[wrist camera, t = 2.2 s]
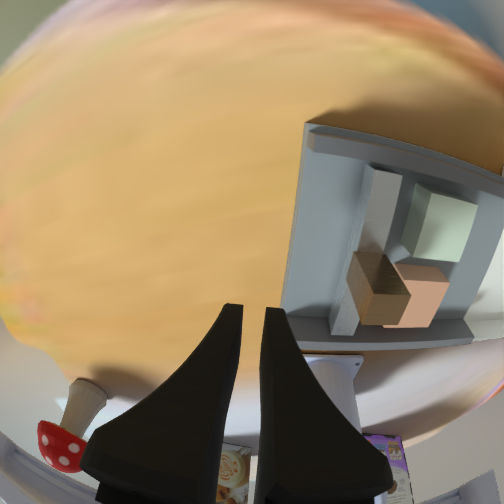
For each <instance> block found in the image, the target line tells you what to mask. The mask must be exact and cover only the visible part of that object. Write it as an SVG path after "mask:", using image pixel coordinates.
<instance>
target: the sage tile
mask: <svg viewBox="0 0 504 504" xmlns="http://www.w3.org/2000/svg"><path fill="white" fill-rule="evenodd" d="M477 208H478V205H477V204H476V203H474V202H473V201H471V200H470V199H468V198H466V197H465V196H463V195H462V194H458V193H455V192H451V191H447V190H444V189H440V188H436V187H432V186H428V185H424V184H420V183H416V184H415V189H414V193H413V197H412V201H411V205H410V209H409V213H408V217H407V220H406V224H405V228H404V231H403V234H402V238H401V241H400V242H401V243H402V244H403V246H404V247H405V248H406V249H407V251H408V252H409V253H410V255H411V256H412V257H416V258H425V259H434V260H443V261H452V262H459V261H460V258H461V256H462V253H463V250H464V248H465V245H466V242H467V239H468V237H469V234H470V231H471V228H472V225H473V222H474V218H475V215H476V212H477Z"/></svg>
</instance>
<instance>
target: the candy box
mask: <svg viewBox="0 0 504 504" xmlns="http://www.w3.org/2000/svg"><path fill="white" fill-rule="evenodd" d="M362 435H363V436H364V437H365V438H366V439H367V440H368V441H369V442H370V443H371V444H372V445H374V446H375V447H376V448H377V449H378V450H379V451H381V452H382V453H383V454H384V455H385V456H387V458H388V461H389V464H390V467H391V470H392V473H393V480H394V485H393V486H392V488H391V489H390V490H388V502H387V504H414V500H413V494H412V488H411V483H410V478H409V473H408V467H407V463H406V458H405V453H404V449H403V444H402V440H401V437H400V436H383V435H372V434H362Z"/></svg>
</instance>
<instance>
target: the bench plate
mask: <svg viewBox="0 0 504 504" xmlns="http://www.w3.org/2000/svg"><path fill="white" fill-rule="evenodd" d="M365 163H366V164H372V165H377V166H382V167H387V168H391V169H393V170H394V171H396V172H398V173H399V174H401V175H403V176H402V181H401V186H400V190H399V195H398V199H397V203H396V207H395V211H394V215H393V219H392V223H391V227H390V230H389V234H388V238H387V241H386V244H385V248H384V251H383V254H386V255H387V257H388V259H389V260H390V262H391V263H392V265H393V263H399V264H409V265H420V266H430V267H438V268H439V269H440V271H441V272H442V273H443V274H444V276H445V277H446V278H447V279H448V281H449V282H450V284H449V286H448V289H447V291H446V293H445V295H444V297H443V299H442V301H441V303H440V305H439V307H438V309H437V311H436V313H435V315H434V317H433V319H432V321H431V323H430V324H429V326H428V327H412V328H384V327H383V325H362V324H361V321H360V320H359V322H358V325H357V327H356V330H355V332H354V335H353V336H348V335H331V333H330V328H329V323H328V316H329V313H330V310H331V306H332V303H333V300H334V296H335V293H336V289H337V286H338V282H339V279H340V275H341V271H342V267H343V264H344V260H345V256H346V252H347V248H348V244H349V240H350V235H351V231H352V227H353V222H354V218H355V213H356V208H357V204H358V199H359V194H360V188H361V183H362V178H363V172H364V166H365ZM416 183H420V184H424V185H428V186H432V187H436V188H440V189H444V190H447V191H451V192H455V193H458V194H462V195H463V196H465V197H466V198H468V199H470V200H471V201H473V202H474V203H476V204H477V205H478V208H477V212H476V215H475V218H474V222H473V225H472V228H471V231H470V234H469V237H468V239H467V242H466V245H465V248H464V250H463V253H462V256H461V258H460V261H459V262H452V261H443V260H434V259H425V258H416V257H412V256H411V255H410V253H409V252H408V251H407V249H406V248H405V247H404V246H403V244H402V243H401V242H400V241H401V238H402V234H403V231H404V228H405V224H406V220H407V217H408V213H409V209H410V205H411V201H412V197H413V193H414V189H415V184H416ZM503 229H504V177H502V176H500V175H498V174H496V173H493V172H491V171H489V170H486V169H484V168H481V167H479V166H476V165H474V164H471V163H469V162H466V161H463V160H461V159H458V158H455V157H452V156H449V155H446V154H443V153H440V152H437V151H434V150H431V149H427V148H424V147H421V146H417V145H414V144H410V143H406V142H403V141H399V140H395V139H391V138H387V137H383V136H378V135H374V134H369V133H365V132H360V131H355V130H350V129H344V128H339V127H333V126H327V125H320V124H314V123H306V122H305V125H304V134H303V143H302V152H301V161H300V170H299V178H298V186H297V194H296V202H295V209H294V217H293V224H292V231H291V238H290V245H289V252H288V258H287V265H286V271H285V278H284V284H283V290H282V296H281V303H280V308H283V309H284V310H285V312H286V316H287V319H288V322H289V325H290V327H291V330H292V332H293V335H294V337H295V339H296V342H297V344H298V346H299V348H300V349H308V350H345V351H367V350H403V349H421V348H434V347H446V346H456V345H465V344H471V342H472V341H473V339H474V338H475V337H474V335H473V333H472V332H471V330H470V328H469V327H468V325H467V324H466V322H465V321H464V319H463V318H464V316H465V315H466V313H467V311H468V309H469V307H470V305H471V304H472V302H473V300H474V298H475V296H476V294H477V292H478V290H479V288H480V286H481V283H482V281H483V279H484V277H485V275H486V273H487V270H488V268H489V266H490V263H491V261H492V258H493V256H494V253H495V251H496V248H497V246H498V243H499V240H500V238H501V235H502V232H503Z"/></svg>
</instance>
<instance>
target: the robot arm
mask: <svg viewBox="0 0 504 504" xmlns="http://www.w3.org/2000/svg"><path fill="white" fill-rule="evenodd" d="M242 320H243V305H239V304H230V303H227V304H225V305H224V306H223V308H222V310H221V312H220V314H219V316H218V318H217V319H216V321H215V322H214V324H213V326H212V327H211V329H210V330H209V331H208V333H207V334H206V336H205V337H204V338H203V340H202V341H201V342H200V344H199V345H198V346H197V347H196V349H195V350H194V351H193V352H192V353H191V355H190V356H189V357H188V358H187V359H186V361H185V362H184V363H183V364H182V365H181V366H180V367H179V368H178V369H177V370H176V371H175V372H174V373H173V374H172V375H171V376H170V377H169V378H168V379H167V380H166V381H165V382H164V383H162V384H161V385H160V386H159V387H158V388H157V389H156V390H154V391H153V392H152V393H151V394H150V395H148V396H147V397H146V398H144V399H143V400H142V401H140V402H139V403H137V404H136V405H135V406H133V407H132V408H130V409H129V410H128V411H126V412H124V413H123V414H121V415H120V416H118V417H116V418H114V419H113V420H111V421H109V422H107V423H106V424H104V425H102V426H100V427H98V428H97V429H95V430H94V432H93V434H92V436H91V437H90V439H89V441H88V442H87V444H86V447H85V449H84V452H83V455H82V457H81V460H80V463H79V466H80V468H81V469H82V470H83V471H84V472H86V473H87V474H88V475H90V476H91V477H93V478H95V479H96V480H98V481H99V482H100V484H99V487H98V490H97V489H94V488H92V487H90V486H88V485H85V484H83V483H81V482H79V481H77V480H75V479H73V478H71V477H69V476H66V475H65V474H63V473H61V472H59V471H57V470H56V469H53V468H52V467H50V466H49V465H47V464H45V463H43V462H42V461H40V460H39V459H37V458H35V457H34V456H32V455H31V454H29V453H27V452H26V451H24V450H23V449H21V448H20V447H19V446H17V445H16V444H15V443H14V442H13V441H12V440H11V439H9V438H8V437H7V436H6V435H4V434H3V433H2V432H1V431H0V498H1V499H2V500H3V501H4V502H5V503H6V504H216V495H217V486H218V477H219V469H220V461H221V452H222V444H223V437H224V429H225V422H226V417H227V412H228V408H229V403H230V399H231V395H232V391H233V386H234V382H235V378H236V374H237V369H238V364H239V356H240V347H241V335H242ZM363 361H364V357H363V356H362V355H315V354H302V352H301V350H300V348H299V346H298V344H297V342H296V339H295V337H294V335H293V332H292V330H291V327H290V325H289V322H288V319H287V316H286V312H285V310H284V309H283V308H272V307H266V312H265V320H264V327H263V335H262V342H261V353H260V366H259V372H260V404H261V430H260V442H259V454H258V465H257V475H256V485H255V494H254V503H253V504H387V502H388V490H390V489H391V488H392V486H393V485H394V480H393V473H392V470H391V467H390V464H389V461H388V458H387V456H385V455H384V454H383V453H382V452H381V451H379V450H378V449H377V448H376V447H375V446H374V445H372V444H371V443H370V442H369V441H368V440H367V439H366V438H365V437H364V436H363V435H362V431H361V425H360V419H359V414H358V408H357V403H356V397H355V392H354V387H353V382H352V381H353V380H354V378H355V376H356V374H357V372H358V371H359V369H360V367H361V365H362V363H363ZM418 504H501V501H500V496H499V491H498V486H497V482H496V478H495V474H494V470H493V469H491V470H489V471H488V472H486V473H484V474H482V475H480V476H478V477H476V478H474V479H472V480H470V481H469V482H467V483H465V484H463V485H461V486H460V487H459V488H457V489H454V490H452V491H450V492H447V493H445V494H442V495H440V496H437V497H435V498H432V499H429V500H427V501H424V502H421V503H418Z"/></svg>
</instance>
